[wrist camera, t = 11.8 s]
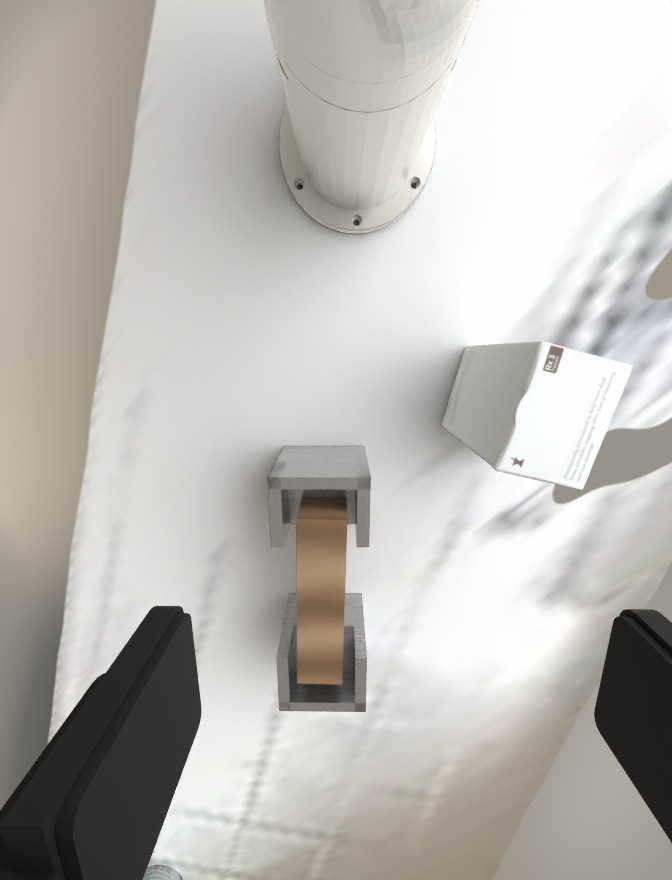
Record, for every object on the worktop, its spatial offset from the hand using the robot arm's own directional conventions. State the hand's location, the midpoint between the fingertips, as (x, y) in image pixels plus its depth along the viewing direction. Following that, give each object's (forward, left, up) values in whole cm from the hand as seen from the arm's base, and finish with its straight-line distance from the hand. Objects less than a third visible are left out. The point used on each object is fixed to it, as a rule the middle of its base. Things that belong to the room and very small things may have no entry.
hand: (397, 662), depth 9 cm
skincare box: (-2, +12, -31) cm, 33 cm away
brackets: (+15, -3, -30) cm, 34 cm away
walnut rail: (+15, -3, -25) cm, 29 cm away
